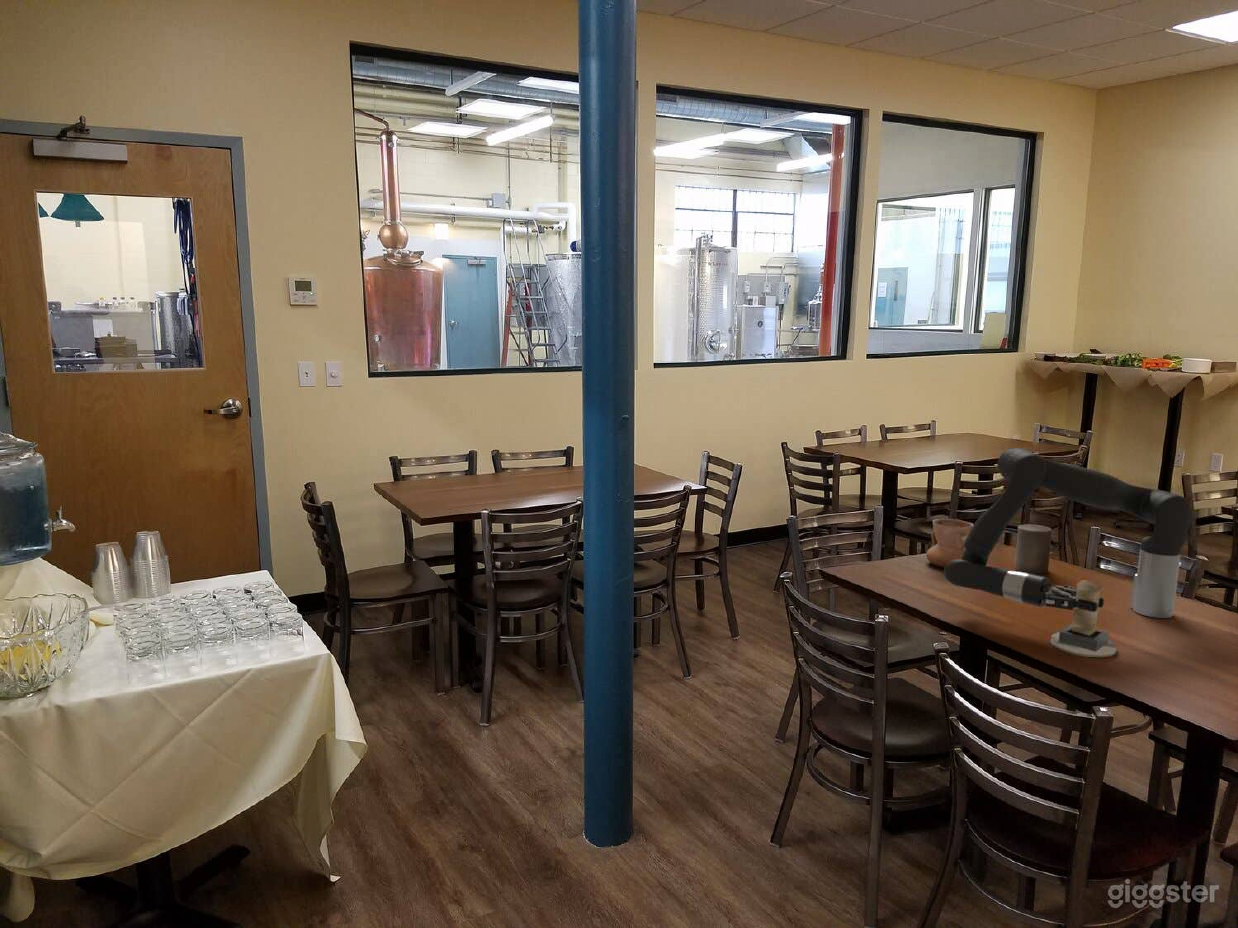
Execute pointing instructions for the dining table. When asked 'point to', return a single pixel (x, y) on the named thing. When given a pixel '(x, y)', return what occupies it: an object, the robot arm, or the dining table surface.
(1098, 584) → the beige rectangular block
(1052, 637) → the rosette plate
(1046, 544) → the pillar candle
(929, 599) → the dining table surface
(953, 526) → the ceramic jug
